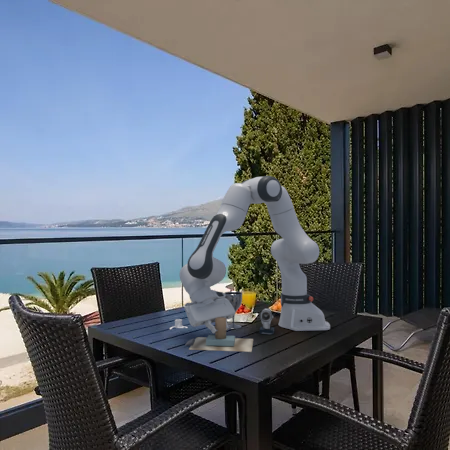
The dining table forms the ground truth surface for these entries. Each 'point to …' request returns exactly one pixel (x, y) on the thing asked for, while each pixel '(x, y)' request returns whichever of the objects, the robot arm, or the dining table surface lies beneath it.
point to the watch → (266, 322)
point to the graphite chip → (190, 342)
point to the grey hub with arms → (178, 324)
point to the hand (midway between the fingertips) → (221, 330)
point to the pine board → (239, 345)
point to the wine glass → (234, 304)
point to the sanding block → (220, 335)
